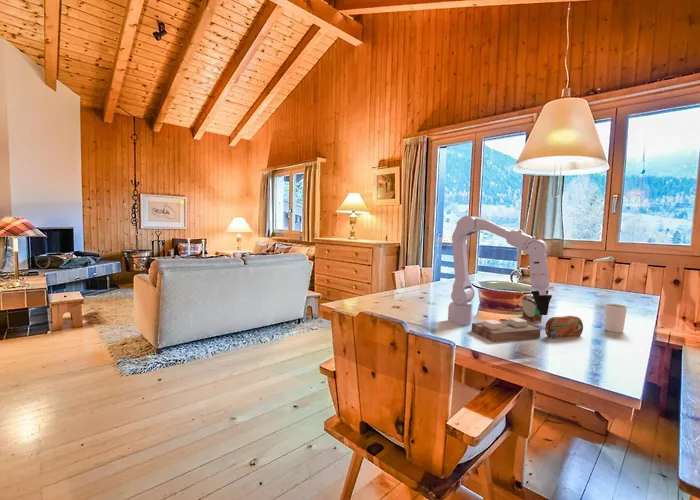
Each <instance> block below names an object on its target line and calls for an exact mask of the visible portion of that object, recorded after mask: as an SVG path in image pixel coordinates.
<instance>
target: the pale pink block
mask: <svg viewBox="0 0 700 500" xmlns="http://www.w3.org/2000/svg"><path fill="white" fill-rule="evenodd" d="M499 321H500V320H496V319H486V320H483V322H484V327H487V328H489V329H491V330H495V329H502V323H501V322H499Z"/></svg>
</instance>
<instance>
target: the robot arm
mask: <svg viewBox="0 0 700 500" xmlns="http://www.w3.org/2000/svg"><path fill="white" fill-rule="evenodd" d="M479 231H487V232H489V233H492V234H494V235H497V236H498V237H501V238H503V239H505V240H506V242H507V244H508V245H510V246H512V247H514V248H516V249H519V250H520V251H523V252H526V254H527V255H528V259H529V261H528V263H529V264H528V265H529V274H530V275H529V277H530V293H531V294H532V296H533V297H534V299H535V302H536V306H537V309H538V311H539V313H540V315H542V316H548V314H549V306H550V302H551V299H552V298H553V295H552V294H549V290H551V289H554V287H555V286H554V285H550V275H549V273H550V272H549V263H548V255H547V252H548V250H549V246H548V244H547V242H546V241H544V240H543V239H539V238H538V239H537V236H534V235H532V236H531V235H529V234H526V233H524V232H523V230H522V229H518V230H517V229H513V230H509V229H507V228H505V227H503V226H501V225H500V224H499V225H498V224H497V223H495V222H493V221H490V220H488V219H486V218H482V217H479V216H476V215H473V216H470V215H464V216H462V217H461V218H460V219H459V220H458V221H457V222H456V226H455V228H454V231H453V233H452V235H451V242H452V254H453V255H452V257H453V267H454V282H453V284H452V291H451V293H450V297H451V302H449V304H448V308H447V309H448V310H447V320H445V321H446V322H449V321H450V322H451V323H452V324H454V325H457V326H472V311H473V302H472V300H473V299H474V297H475V289H473V285H472V282H471V280H470V278H469V262H468V250H467V241H468V239H469V238H470V237H471V236H472V235H473V234H476V233H477V232H479Z"/></svg>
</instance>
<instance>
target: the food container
mask: <svg viewBox="0 0 700 500" xmlns="http://www.w3.org/2000/svg"><path fill="white" fill-rule="evenodd" d="M521 299H522V317H524V319H525V318H526V319H527V320H529V321H530V322H532V323H535V324H537V323H542V320H543V319H542V318H543V315H540V313H539V311H538V309H537V306H536V302H535V299H534V297H533V295H522V298H521Z"/></svg>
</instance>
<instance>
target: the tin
mask: <svg viewBox="0 0 700 500" xmlns="http://www.w3.org/2000/svg"><path fill="white" fill-rule="evenodd" d="M544 330H545V335H546V336H547V337H548V338H550V339H552V340H554V339H560V338H572V337H581V335H582V334H583V330H584V324H583V321H582V319H581V318H580V317H578V316H576V315H575V316H574V315H564V316H563V315H562V316H553V317H550V318H548V320H547V321H546V323H545V327H544Z"/></svg>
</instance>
